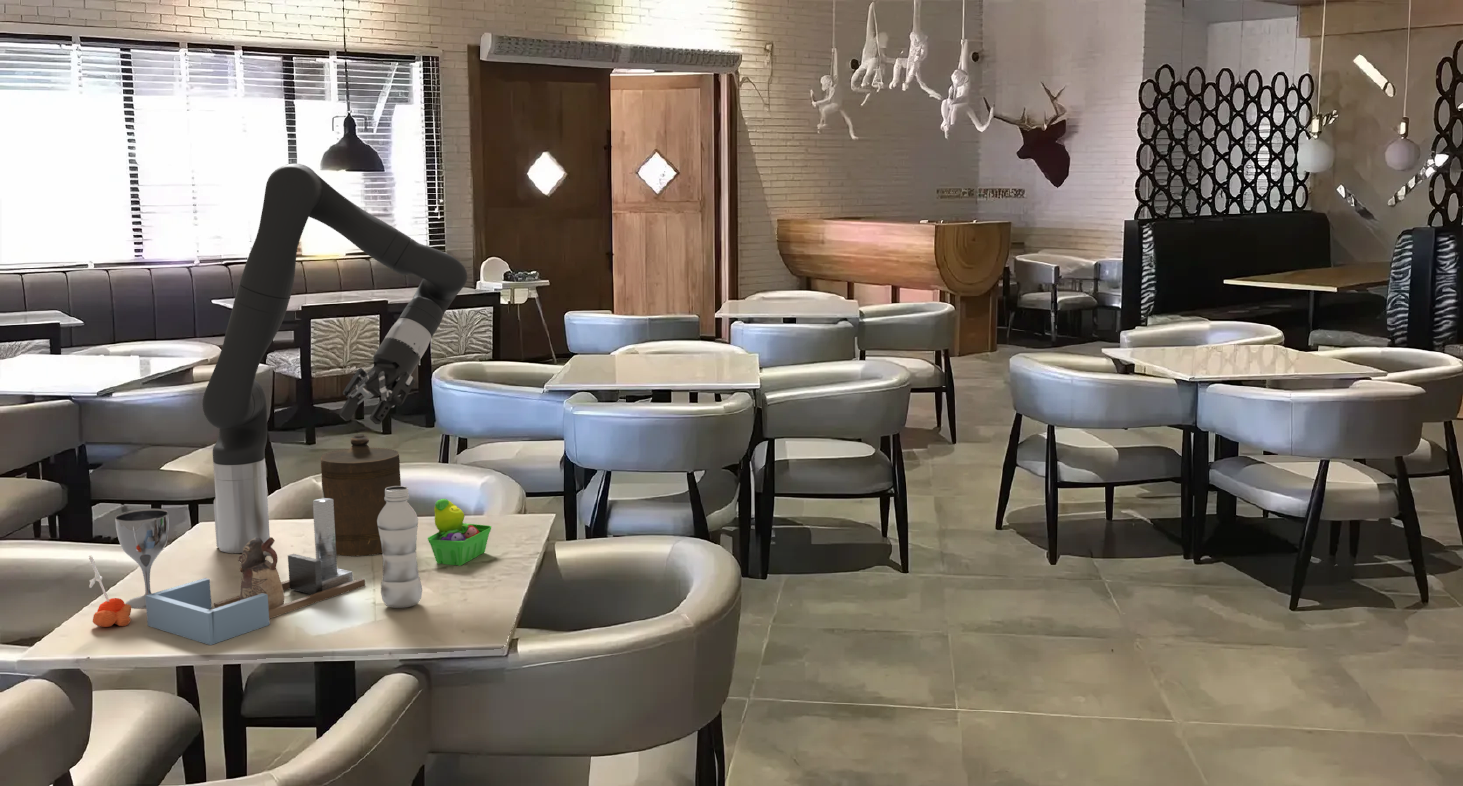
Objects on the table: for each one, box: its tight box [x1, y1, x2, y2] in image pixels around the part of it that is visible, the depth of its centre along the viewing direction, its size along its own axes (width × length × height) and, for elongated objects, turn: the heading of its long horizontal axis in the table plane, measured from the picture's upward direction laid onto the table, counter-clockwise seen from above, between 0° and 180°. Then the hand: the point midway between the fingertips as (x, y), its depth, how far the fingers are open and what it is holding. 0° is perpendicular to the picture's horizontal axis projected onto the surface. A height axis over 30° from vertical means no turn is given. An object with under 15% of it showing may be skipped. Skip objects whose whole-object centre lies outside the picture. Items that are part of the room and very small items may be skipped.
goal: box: [144, 577, 270, 646], centre depth 196 cm, size 16×11×5 cm, turn 57°
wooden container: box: [320, 433, 402, 557], centre depth 239 cm, size 15×15×22 cm
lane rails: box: [213, 578, 366, 619], centre depth 209 cm, size 11×22×1 cm, turn 148°
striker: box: [287, 497, 354, 595], centre depth 214 cm, size 7×8×15 cm
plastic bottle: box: [377, 485, 423, 609], centre depth 204 cm, size 6×7×20 cm
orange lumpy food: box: [88, 555, 132, 628], centre depth 195 cm, size 6×10×12 cm, turn 170°
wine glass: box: [114, 508, 170, 609], centre depth 207 cm, size 8×8×15 cm
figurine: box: [237, 536, 285, 609], centre depth 204 cm, size 7×7×12 cm
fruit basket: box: [427, 498, 492, 567], centre depth 232 cm, size 11×9×11 cm
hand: (358, 420), depth 222 cm, fingers open, 8 cm apart
